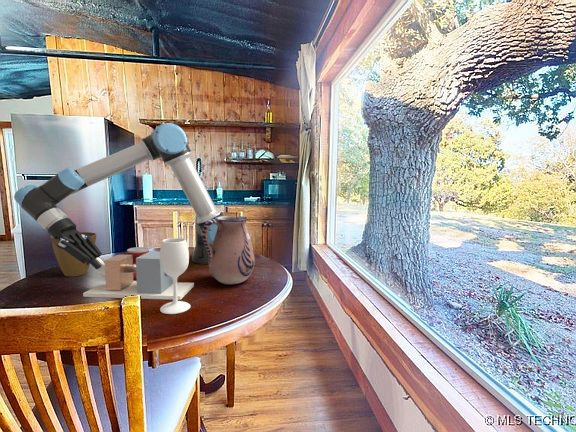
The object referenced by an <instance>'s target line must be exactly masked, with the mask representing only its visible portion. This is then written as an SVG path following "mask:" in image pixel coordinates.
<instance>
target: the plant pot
mask: <svg viewBox="0 0 576 432" xmlns="http://www.w3.org/2000/svg"><path fill="white" fill-rule="evenodd" d="M79 232H80V233H81V234H82V235H86V234H89V235H90V238H91V240H92V241H93V242H94V244H95V245H96V239H97V236H98V235H97V233H96V232H91V231H79ZM49 236H50V241H51V245H52V249H53V253H54V256H55V259H56V261H57V263H58V266H59V268H60V270H61V272H62V273H63V275H64V276H65V277H77V276H78V277H80V276H83V275H85V274H87V273H88V270H89V267H90V265H91V264H89V265H86V263H85V264H83V263H82V262H80V261H79V260H77V259H76V258H75V257H73V256H72V255H70V254H69V253H68V252H66V251H65V250H63V249H61V248H59V247H57V245H58V244H59V243H60V241H59V240H56V239H54V238H53V237H52V236H51V235H49Z"/></svg>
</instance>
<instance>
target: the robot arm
mask: <svg viewBox="0 0 576 432" xmlns="http://www.w3.org/2000/svg"><path fill="white" fill-rule="evenodd" d="M191 155H192V150H191V148H190V146H189V144H188V138H187V135H186V133H185V131H184V129H183V128H181V127H180V126H179V125H177V124H176V123H170V122H167V123H165V122H164V123H162V124H159V125H158V126H157V127H155V129H154V130H153V131H152V132H151V134H149V135H147V136H146V137H143V138H141V139H140V140H139V142H138V143H136V144H133V145H132V146H129V147H127V148H124V149H121V150H120V151H117V152H115V153H113V154H110V155H107V156H105V157H103V158H101V159H97V160H95V161H93V162H91V163H90V162H89V164H86V165H84V166H81V167H79V168H77V169H73V168H72V167H66V168H64V169H62V170H61V171H58V173H57V174H55V175H54V176H52V177H51V178H50V179H48V180H47V181H45V182H44V183H42V184H41V185H39V186H38V185H37V186H36V185H35V184H29V185H26V186H24V187H20V188H19V189H18V190H17V191H16V192H15V193H14V196H13V199H14V201H15V202H16V203H17V204H18V205H19V206H20V208H21V209H23V210H24V211H25V212H26V213H27V214H28V215H29V216H30V217H31V218H32V219H34V220H35V222H36V223H38V225H40V226H41V227H42V229H44V230H45V231H47V233H48V234H49V236H52V237H53V238H54V239H56V240H59V241H60V243H59V244H58V245H57V247H59V248H61V249H63V250H65V251H66V252H68V253H69V254H70V255H72V256H73V257H75V258H76V259H77V260H79V261H80V262H82V263H83V264H85V263H86V265H89V264H90V265H91V266H92V267H93V268H94V269H95V270H97V271H98V272H99V273H100V275H102V276H103V277H104V278H105V262H104V261H105V260H103V259H102V258H101V256H102V255H103V254H102V252H101V251H100V249H99V247H98V246H97V244H96V243H95V244H94V242H93V241H92V240H91V238H90V235H89V234H86V235H82V234H81V233H80V232H81V231H79V230H78V229H77V224H76V223H75V222H74V221H73V220H72V219H71V218H69V217H68V215H67V214H66V213H65V212H64V211H63V210H62V209H60V208H59V207H58V206H57V205H58V204H59V203H61V202H62V201H64V200H65V199H67V197H69V196H70V195H73V194H75V193H78V192H80V191H82V190H84V189H86V188H89V187H90V186H92V185H95V184H97V183H99V182H102V181H104V180H106V179H109V178H110V177H113V176H115V175H118V174H119V173H122V172H125V171H126V170H129V169H131V168H134V167H136V166H138V165H141V164H143V163H145V162H147V161H155V160H158V159H160V158H161V160H162V161H163V163H164V164H165V165H167V166H169V167H170V169H171V171H172V172H173V174H174V176H175V178H176V179H177V182H178V183H179V185H180V187H181V188H182V191H183V192H184V194H185V196H186V198H187V200H188V202H189V203H190V205H191V208H192V209H193V211H194V213H195V220H194V221H195V247H194V249H193V253H192V256H191V260H192V262H193V263H195V264H201V265H203V264H204V265H209V264H208V261H209V255H208V252H207V249H206V247H205V244H204V241H203V238H202V229H203V227H204V224H205V223H206V222H207V221H209V220H212V219H215V218H216V217H221V216H225V215H224V213H223V211H222V209H218V208H217V207H216V205H215V203H214V201H213V200H212V198H211V196H210V193H209V191H208V190H207V188H206V186H205V184H204V182H203V180H202V178H201V176H200V175H199V172H198V170H197V168H196V166H195V164H194V162H193V160H192V158H191ZM217 228H218V226H217V225H216V224H213V225H211V226H210V227H209V229H208V231H207V237H208V241H209V244H210V246H211V247H212V244H213V241H214V238H215V235H216V232H217ZM90 265H89V266H90Z"/></svg>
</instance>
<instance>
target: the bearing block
mask: <svg viewBox="0 0 576 432" xmlns="http://www.w3.org/2000/svg"><path fill="white" fill-rule="evenodd" d="M136 277H137V279H136V280H133V283H131V284H130V285H128V286H126V287H125V288H123V289H122V290H106V282H105V281H103V282H102V283H99V284H97V285H96V286H94V287H92V288H90V289H88V290H87V291H84V292H83V293H82V297H84V298H109V299H111V298H114V299H124V298H123V297H125V296H131V295H140V296H141V300H143V299H144V300H146V299H148V300H168V301H169V300H170V301H171V300H172V301H173V279H172V277H171V276H169V275H167V274H165V273H164V272H163V270H162V269H161V266H160V250H159V251H156V250H149V252H148V253H146V254H144V255H142V256H139V257H137V258H136ZM194 287H195V282H179V281H177V299H178V301H182V299H183V298H184V297H185V296H186V295H187V294H188V293H189V292H190V291H191V290H192V289H193V288H194Z"/></svg>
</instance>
